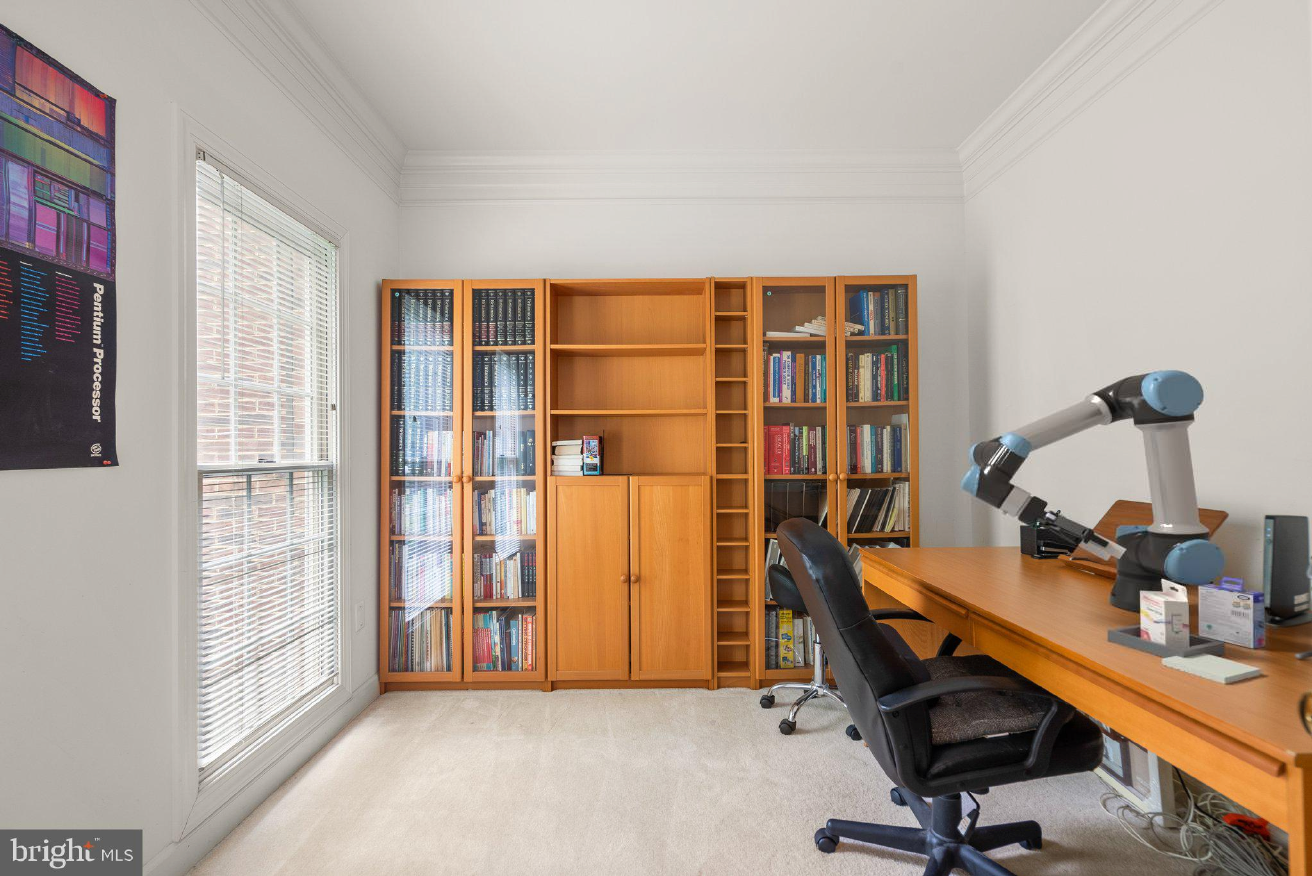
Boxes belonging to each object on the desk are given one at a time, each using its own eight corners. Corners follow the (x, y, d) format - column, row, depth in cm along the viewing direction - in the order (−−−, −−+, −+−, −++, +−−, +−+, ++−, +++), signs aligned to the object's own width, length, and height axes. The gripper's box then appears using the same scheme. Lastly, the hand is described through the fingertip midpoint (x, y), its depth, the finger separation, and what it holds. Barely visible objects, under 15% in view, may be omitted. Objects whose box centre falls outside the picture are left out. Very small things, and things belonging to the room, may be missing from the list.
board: (1197, 656, 119) (1197, 651, 119) (1260, 674, 110) (1260, 668, 110) (1162, 664, 115) (1161, 658, 115) (1224, 684, 106) (1224, 677, 106)
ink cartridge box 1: (1139, 640, 130) (1137, 577, 130) (1163, 641, 129) (1162, 578, 129) (1164, 653, 121) (1163, 586, 121) (1191, 655, 120) (1189, 587, 120)
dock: (1147, 633, 134) (1147, 623, 134) (1224, 654, 121) (1224, 642, 121) (1107, 640, 129) (1107, 630, 129) (1183, 663, 116) (1183, 651, 116)
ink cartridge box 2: (1267, 646, 125) (1266, 582, 125) (1255, 650, 123) (1254, 584, 123) (1209, 633, 134) (1208, 573, 134) (1197, 636, 132) (1196, 575, 132)
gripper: (1012, 523, 156) (1096, 569, 145) (1019, 513, 135) (1118, 566, 124) (1028, 500, 155) (1114, 545, 144) (1037, 487, 134) (1138, 539, 123)
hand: (1116, 555), depth 134 cm, fingers open, 13 cm apart
